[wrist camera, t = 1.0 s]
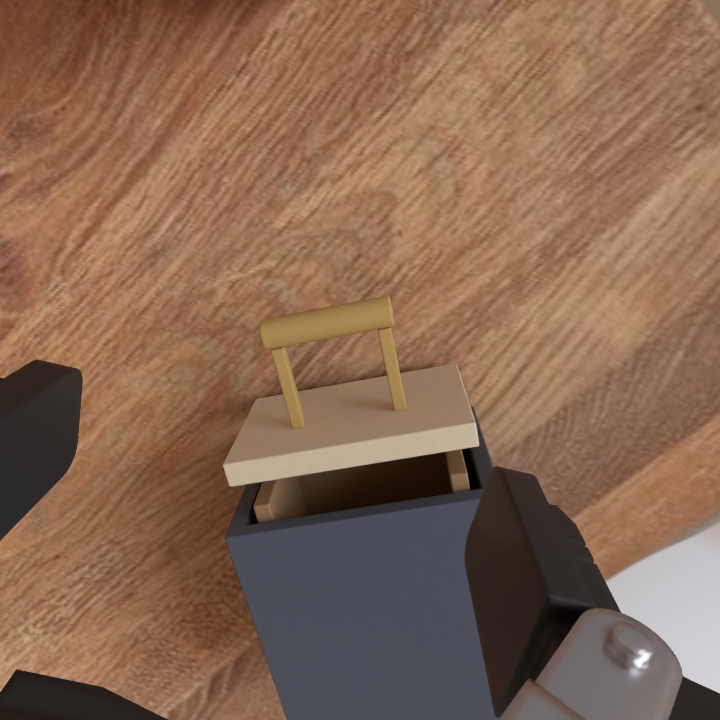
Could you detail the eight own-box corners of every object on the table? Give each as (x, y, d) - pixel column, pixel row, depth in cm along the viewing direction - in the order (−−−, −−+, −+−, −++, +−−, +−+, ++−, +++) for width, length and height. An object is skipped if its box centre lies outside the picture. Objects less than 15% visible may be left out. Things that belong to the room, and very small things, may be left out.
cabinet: (263, 442, 35) (223, 538, 27) (473, 406, 34) (503, 495, 25) (318, 629, 40) (300, 762, 31) (504, 604, 39) (538, 736, 30)
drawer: (228, 306, 31) (184, 351, 24) (440, 264, 30) (456, 299, 23) (311, 588, 38) (294, 686, 31) (489, 562, 36) (513, 659, 30)
